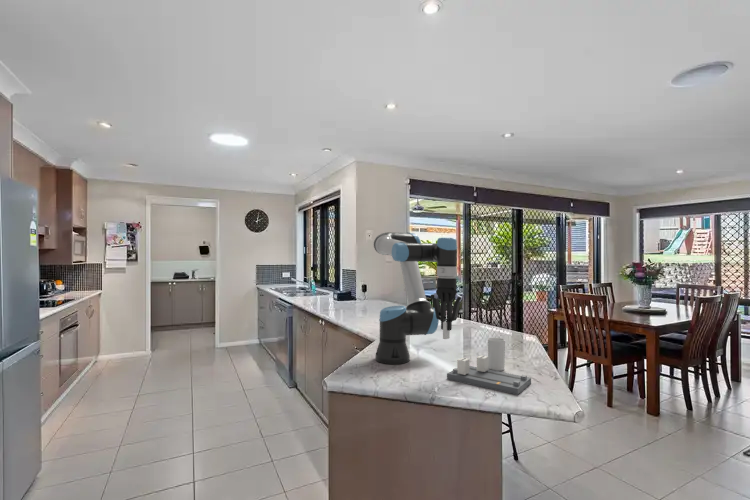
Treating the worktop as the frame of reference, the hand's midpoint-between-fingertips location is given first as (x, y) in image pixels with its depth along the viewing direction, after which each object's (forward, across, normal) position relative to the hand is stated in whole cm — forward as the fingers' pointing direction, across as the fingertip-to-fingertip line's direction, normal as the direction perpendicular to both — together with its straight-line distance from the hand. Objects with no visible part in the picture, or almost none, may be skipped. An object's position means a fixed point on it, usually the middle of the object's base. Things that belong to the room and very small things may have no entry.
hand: (446, 338), depth 145 cm
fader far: (+12, +12, +7) cm, 18 cm away
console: (+14, +16, +3) cm, 21 cm away
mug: (+14, +12, +22) cm, 29 cm away
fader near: (+12, +8, -1) cm, 14 cm away
